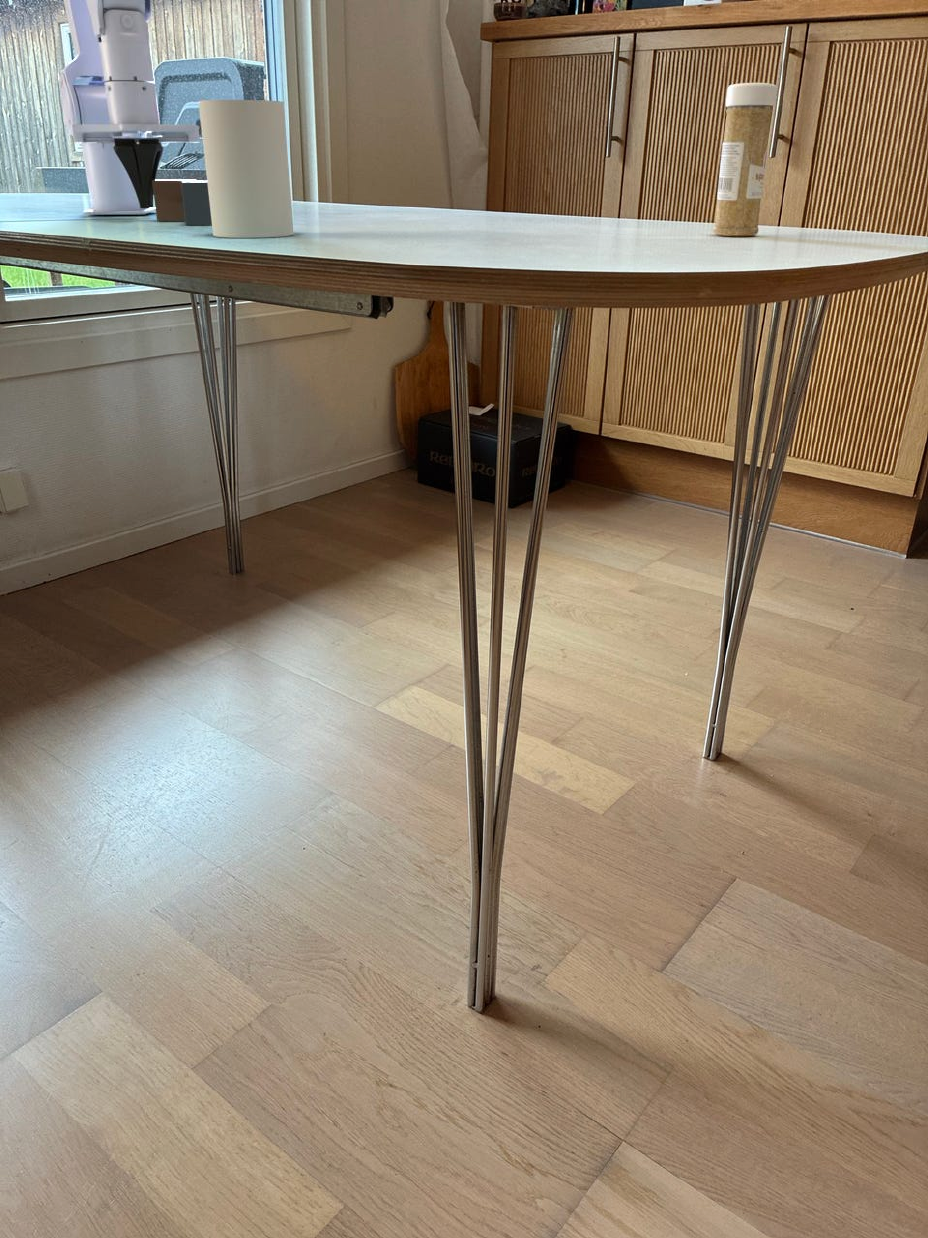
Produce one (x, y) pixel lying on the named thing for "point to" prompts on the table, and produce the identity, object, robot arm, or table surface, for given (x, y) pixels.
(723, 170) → the spice jar
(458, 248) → the table surface
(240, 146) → the cup
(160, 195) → the walnut block
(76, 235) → the table surface
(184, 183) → the slate block
